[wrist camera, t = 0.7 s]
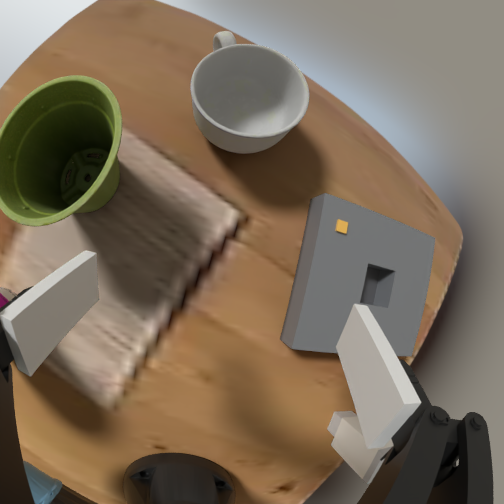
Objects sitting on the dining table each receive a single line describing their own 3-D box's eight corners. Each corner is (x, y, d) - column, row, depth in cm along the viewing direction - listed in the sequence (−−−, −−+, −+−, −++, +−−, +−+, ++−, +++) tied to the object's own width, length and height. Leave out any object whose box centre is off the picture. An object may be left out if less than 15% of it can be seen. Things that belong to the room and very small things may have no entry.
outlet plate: (395, 349, 34) (412, 356, 30) (280, 339, 30) (292, 349, 26) (417, 239, 35) (436, 237, 31) (310, 198, 31) (326, 192, 27)
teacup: (290, 159, 31) (322, 133, 23) (194, 170, 28) (198, 141, 20) (266, 64, 30) (286, 25, 22) (181, 68, 28) (184, 24, 20)
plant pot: (58, 252, 24) (0, 251, 14) (39, 155, 24) (-10, 116, 13) (156, 212, 27) (139, 185, 16) (129, 115, 26) (109, 54, 15)
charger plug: (347, 431, 32) (395, 475, 21) (321, 433, 31) (366, 484, 20) (357, 405, 33) (411, 446, 21) (331, 407, 32) (383, 454, 20)
